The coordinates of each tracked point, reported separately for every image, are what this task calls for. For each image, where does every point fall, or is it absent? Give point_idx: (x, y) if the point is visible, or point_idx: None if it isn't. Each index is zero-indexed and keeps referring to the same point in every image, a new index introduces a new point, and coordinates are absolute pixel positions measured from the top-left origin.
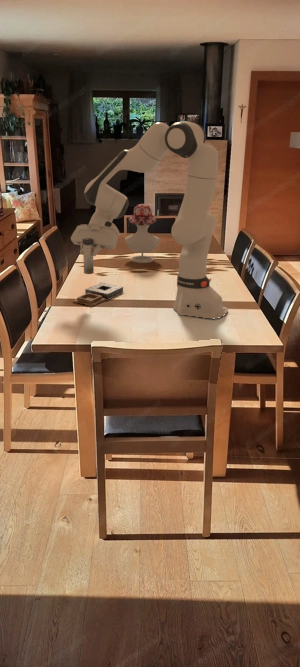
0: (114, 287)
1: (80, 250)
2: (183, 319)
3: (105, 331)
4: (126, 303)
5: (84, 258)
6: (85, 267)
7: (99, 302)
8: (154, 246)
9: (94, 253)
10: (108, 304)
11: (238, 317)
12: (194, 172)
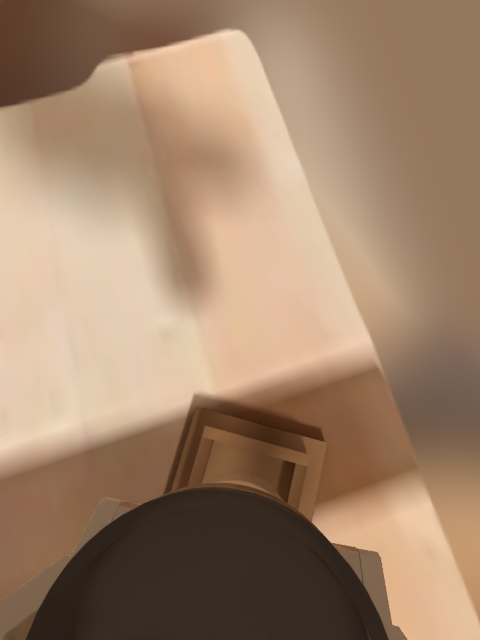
0: None
1: (380, 578)
2: None
3: (53, 165)
4: (23, 529)
5: (266, 487)
6: (252, 475)
7: (176, 477)
8: None
9: (96, 517)
10: (122, 476)
11: None
12: None
